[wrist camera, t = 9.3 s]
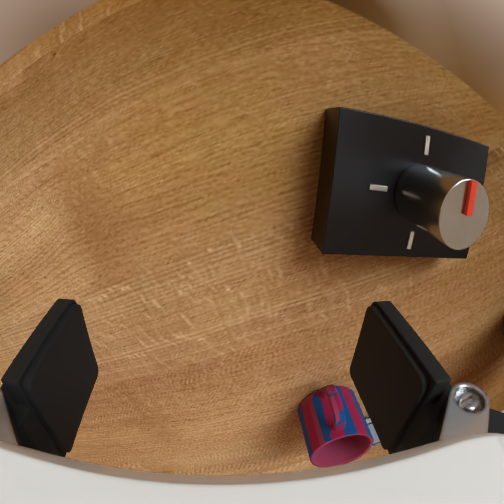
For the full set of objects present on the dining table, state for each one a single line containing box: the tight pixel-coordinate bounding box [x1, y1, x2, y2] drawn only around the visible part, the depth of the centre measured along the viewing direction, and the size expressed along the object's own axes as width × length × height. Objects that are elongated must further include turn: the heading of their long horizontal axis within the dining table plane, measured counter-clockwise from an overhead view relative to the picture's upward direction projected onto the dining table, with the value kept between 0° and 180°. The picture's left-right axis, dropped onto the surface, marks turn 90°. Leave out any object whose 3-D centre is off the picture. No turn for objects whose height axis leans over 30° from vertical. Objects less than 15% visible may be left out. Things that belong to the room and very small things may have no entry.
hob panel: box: [312, 107, 489, 259], centre depth 22 cm, size 14×10×3 cm
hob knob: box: [395, 164, 489, 250], centre depth 18 cm, size 4×4×6 cm
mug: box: [298, 385, 374, 467], centre depth 29 cm, size 7×10×7 cm
